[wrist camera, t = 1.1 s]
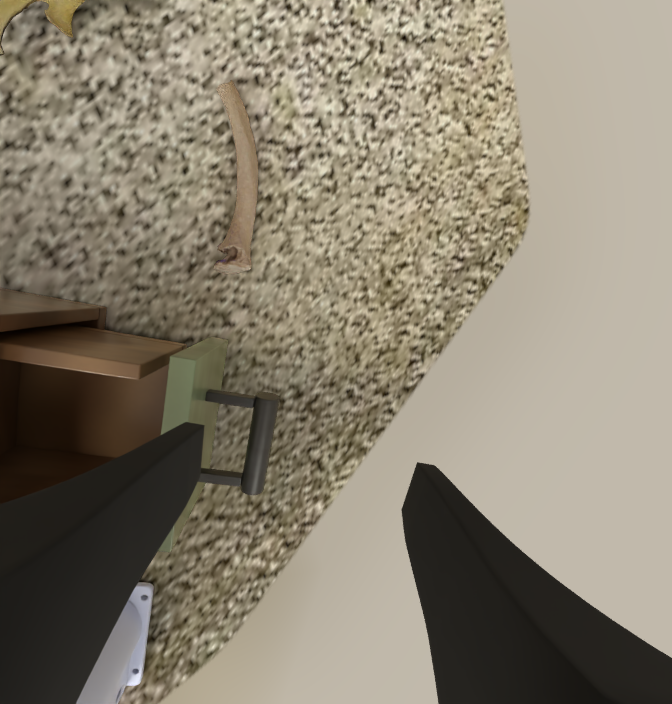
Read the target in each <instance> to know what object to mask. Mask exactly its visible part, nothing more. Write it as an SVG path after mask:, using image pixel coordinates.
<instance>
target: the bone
mask: <svg viewBox="0 0 672 704" xmlns="http://www.w3.org/2000/svg"><path fill="white" fill-rule="evenodd" d="M217 92H218V94H219V95H220V97H221V99H222V101H223V103H224V105H225V108H226V110H227V113H228V116H229V120H230V123H231V127H232V130H233V136H234V140H235V148H236V155H237V200H236V206H235V212H234V217H233V219H232V222H231V226H230V229H228V233H227V235H226V238H225V239H224V241H223V242H222V243H221V244H220V245H219V246H218V249H217V250H219V251H221V252H223V253H225V252H226V253H227V256H226V257H225V258H224V259H223V260H218V261H217V262H216V264H215V265H214V267H213V268H214V269H215V270H217V271H218V272H220V273H224V274H237V273H240V272H242V271H247V270H250V269H251V258H250V252H251V248H250V245H251V239H252V234H253V227H254V221H255V212H256V203H257V197H258V195H257V192H258V160H257V155H256V148H255V143H254V137H253V134H252V131H251V128H250V122H249V118H248V115H247V112H246V109H245V107H244V104H243V102H242V100H241V98H240V96H239V93H238V91H237V89H236V87H235V85H234V82H233V81H232V80H231V82H229V83H224V84H221V85H219V87H218V88H217Z"/></svg>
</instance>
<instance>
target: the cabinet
mask: <svg viewBox="0 0 672 704" xmlns="http://www.w3.org/2000/svg"><path fill="white" fill-rule="evenodd" d="M105 320H106V307H103V306H98V305H92V304H87V303H81V302H76V301H70V300H65V299H59V298H54V297H48V296H42V295H37V294H31V293H26V292H20V291H15V290H9V289H4V288H0V332H4V331H12V330H19V329H27V328H35V327H43V326H51V325H58V324H72V325H78V326H84V327H90V328H95V329H101V330H105Z"/></svg>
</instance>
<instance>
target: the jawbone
mask: <svg viewBox="0 0 672 704" xmlns="http://www.w3.org/2000/svg"><path fill="white" fill-rule="evenodd" d="M36 1H44V2H47V3H48V4H49V8H48V9H47V10H45V14H46V17H47V19H48V20H49V21H50V22H51V23H52V24H54V25H55V26H56V27H57V28H58V29H59V30H60V31H61V32H62V33H64V34H65V35H67V36H69V37H72V38H73V35H72V28H71V22H72V17H73V13H74V12H75V10H76V9H77V8H78V7H79V6H80V5H81V4H82V3H83V2H84V1H85V0H0V55H3V54H4V51H3V48H2V46H1V40H2V37H3V33H4V31H5V28H6V27H7V25H8V24H9V23H10V21H11V20H12V19H13V17H15V16H16V15H17V14H19V13H21V12H22V11H23V9H27V8H28V6H29V5H30V4H31V3H33V2H36Z"/></svg>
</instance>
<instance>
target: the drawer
mask: <svg viewBox="0 0 672 704" xmlns="http://www.w3.org/2000/svg"><path fill="white" fill-rule="evenodd" d="M227 346H228V340H226V339H221V338H215V337H209V338H207V339H205V340H203V341H201V342H199V343H197V344H195V345H193V346H190V347H188V348H186V347H187V345H186V344H183V343H177V342H171V341H166V340H160V339H154V338H148V337H142V336H136V335H131V334H125V333H119V332H113V331H107V330H101V329H95V328H90V327H84V326H78V325H72V324H58V325H51V326H43V327H35V328H27V329H19V330H12V331H4V332H0V504H2V503H5V502H8V501H11V500H14V499H17V498H20V497H23V496H26V495H29V494H32V493H35V492H38V491H40V490H43V489H46V488H49V487H51V486H54V485H56V484H59V483H61V482H64V481H66V480H69V479H71V478H74V477H76V476H78V475H81V474H83V473H85V472H88V471H90V470H92V469H94V468H97V467H99V466H101V465H103V464H105V463H107V462H109V461H111V460H113V459H115V458H117V457H120V456H122V455H124V454H126V453H128V452H130V451H132V450H134V449H136V448H137V447H139V446H141V445H143V444H145V443H147V442H149V441H151V440H153V439H155V438H156V437H158V436H160V435H162V434H164V433H166V432H167V431H169V430H171V429H173V428H175V427H177V426H179V425H180V424H183V423H185V422H190V423H196V424H201V425H205V426H204V438H203V450H202V462H201V474H200V478H199V480H198V482H197V485H196V487H195V489H194V491H193V493H192V495H191V497H190V499H189V501H188V503H187V505H186V507H185V509H184V510H183V512H182V514H181V515H180V517H179V518H178V520H177V521H176V523H175V525H174V526H173V528H172V529H171V531H170V533H169V534H168V536H167V537H166V539H165V540H164V542H163V544H162V545H161V547H160V548H159V550H158V551H162V552H171V551H172V549H173V547H174V545H175V543H176V541H177V539H178V537H179V535H180V533H181V531H182V529H183V527H184V525H185V523H186V521H187V519H188V517H189V515H190V513H191V511H192V509H193V507H194V505H195V503H196V502H197V500H198V498H199V496H200V494H201V492H202V490H203V488H204V486H205V484H206V483H213V484H222V485H231V486H240V485H241V491H242V492H243V493H245V494H248V495H257V494H260V493H261V492H262V491H263V490H264V485H265V479H266V473H267V468H268V462H269V456H270V451H271V445H272V439H273V434H274V428H275V423H276V417H277V411H278V406H279V400H280V397H279V396H278V395H276V394H273V393H268V392H260V393H257V394H256V396H251V395H245V394H238V393H232V392H225V391H221V387H222V380H223V373H224V366H225V359H226V352H227ZM219 403H220V404H227V405H233V406H240V407H247V408H253V407H254V408H253V414H252V420H251V427H250V433H249V439H248V445H247V451H246V457H245V463H244V469H243V473H240V472H231V471H223V470H215V469H210V462H211V455H212V448H213V441H214V434H215V428H216V421H217V414H218V407H219Z"/></svg>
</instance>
